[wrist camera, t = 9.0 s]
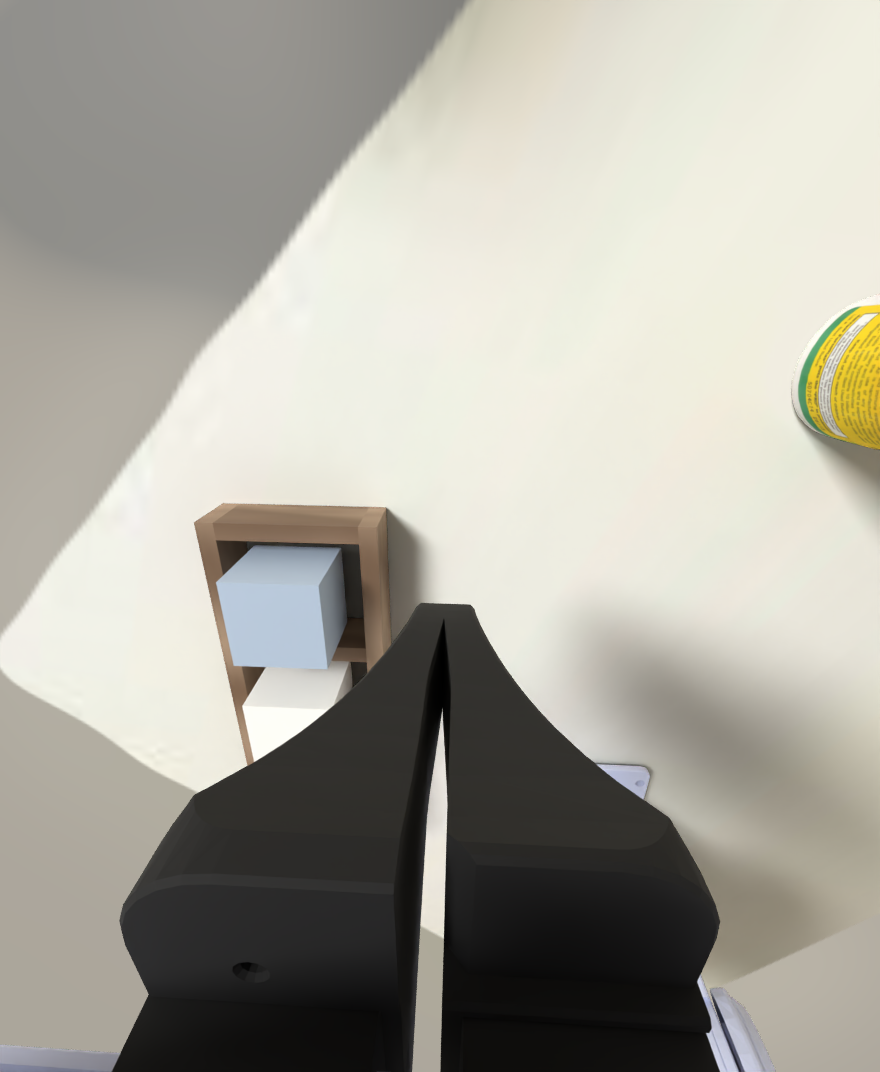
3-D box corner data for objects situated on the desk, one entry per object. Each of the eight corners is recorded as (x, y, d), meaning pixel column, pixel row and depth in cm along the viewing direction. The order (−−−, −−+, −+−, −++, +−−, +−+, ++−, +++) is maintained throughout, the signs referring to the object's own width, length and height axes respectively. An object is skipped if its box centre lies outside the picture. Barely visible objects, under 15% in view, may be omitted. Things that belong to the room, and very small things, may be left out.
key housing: (397, 794, 28) (391, 833, 26) (277, 788, 29) (261, 826, 26) (386, 507, 21) (377, 527, 19) (222, 503, 21) (193, 522, 19)
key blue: (347, 621, 22) (327, 669, 19) (267, 619, 22) (233, 665, 19) (341, 547, 20) (318, 585, 17) (254, 545, 20) (216, 582, 17)
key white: (355, 717, 24) (339, 774, 21) (283, 714, 24) (255, 770, 21) (350, 658, 23) (332, 709, 19) (273, 655, 23) (242, 706, 20)
